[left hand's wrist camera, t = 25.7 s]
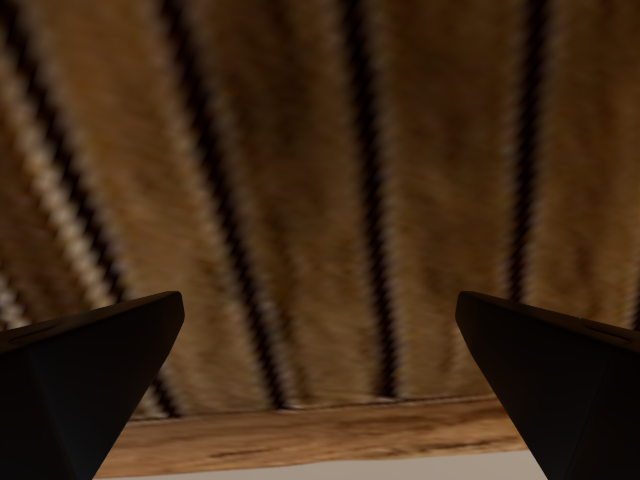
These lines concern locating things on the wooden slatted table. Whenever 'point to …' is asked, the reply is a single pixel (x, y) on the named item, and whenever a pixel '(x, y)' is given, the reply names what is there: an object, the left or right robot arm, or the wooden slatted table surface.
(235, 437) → the wooden slatted table surface
